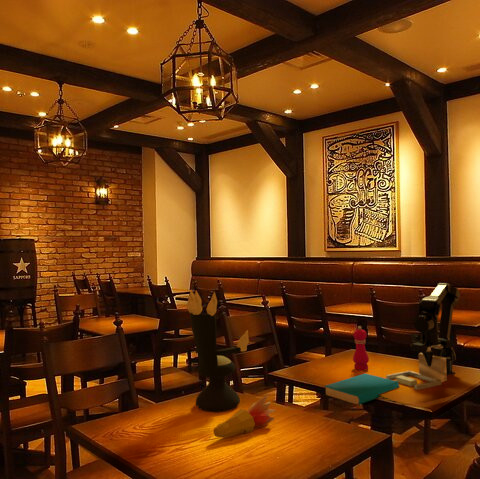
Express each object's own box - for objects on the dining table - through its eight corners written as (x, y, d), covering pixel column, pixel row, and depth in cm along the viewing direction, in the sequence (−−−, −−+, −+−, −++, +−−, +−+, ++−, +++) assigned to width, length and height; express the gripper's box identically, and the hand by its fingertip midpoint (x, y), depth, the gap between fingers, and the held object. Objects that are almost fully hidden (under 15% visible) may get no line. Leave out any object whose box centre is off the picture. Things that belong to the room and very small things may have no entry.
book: (324, 385, 192) (364, 372, 207) (325, 396, 192) (364, 382, 207) (359, 395, 178) (399, 380, 193) (360, 407, 178) (399, 391, 193)
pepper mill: (371, 367, 228) (369, 325, 228) (366, 371, 222) (364, 327, 222) (356, 365, 232) (354, 324, 232) (351, 369, 226) (349, 326, 226)
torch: (215, 452, 151) (270, 420, 168) (228, 448, 146) (284, 415, 162) (204, 427, 154) (260, 397, 170) (217, 421, 148) (273, 391, 165)
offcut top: (401, 380, 202) (401, 375, 202) (417, 384, 195) (416, 379, 195) (395, 381, 200) (395, 376, 200) (411, 386, 193) (410, 381, 193)
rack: (409, 377, 210) (409, 370, 210) (441, 387, 194) (441, 380, 194) (386, 382, 204) (386, 375, 204) (417, 393, 189) (416, 385, 189)
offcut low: (401, 384, 203) (401, 379, 203) (419, 390, 194) (419, 385, 194) (394, 385, 201) (393, 380, 201) (412, 392, 192) (412, 387, 192)
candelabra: (252, 402, 186) (248, 285, 186) (218, 421, 167) (214, 291, 167) (213, 394, 196) (209, 284, 196) (177, 412, 177) (172, 289, 177)
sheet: (424, 375, 210) (423, 352, 210) (446, 382, 199) (446, 358, 199) (419, 376, 209) (418, 353, 209) (441, 383, 198) (440, 359, 198)
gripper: (432, 323, 215) (433, 358, 215) (400, 328, 207) (401, 364, 207) (452, 327, 205) (454, 364, 205) (419, 332, 197) (421, 370, 197)
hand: (432, 365), depth 204 cm, fingers closed on sheet, 3 cm apart
